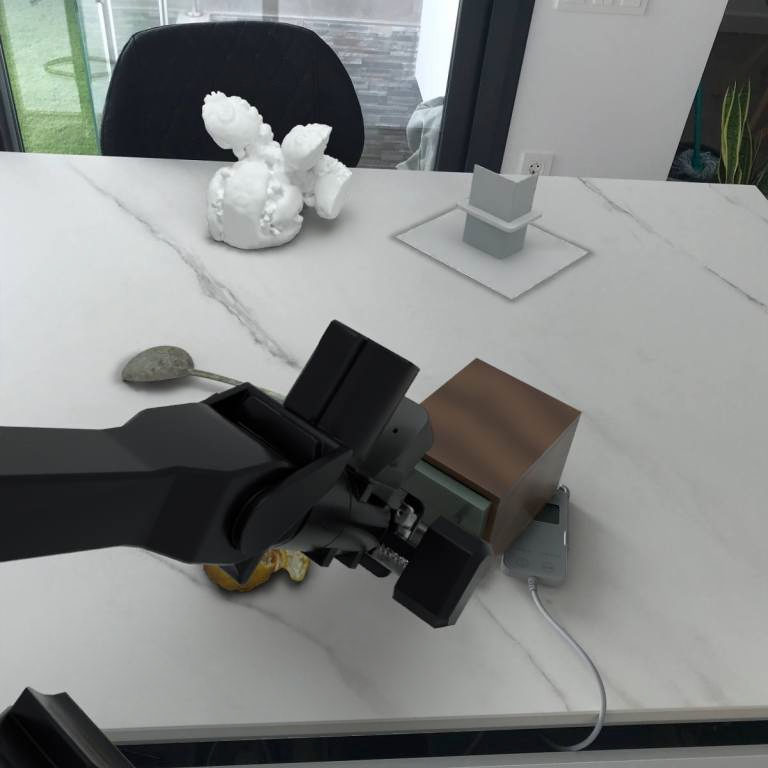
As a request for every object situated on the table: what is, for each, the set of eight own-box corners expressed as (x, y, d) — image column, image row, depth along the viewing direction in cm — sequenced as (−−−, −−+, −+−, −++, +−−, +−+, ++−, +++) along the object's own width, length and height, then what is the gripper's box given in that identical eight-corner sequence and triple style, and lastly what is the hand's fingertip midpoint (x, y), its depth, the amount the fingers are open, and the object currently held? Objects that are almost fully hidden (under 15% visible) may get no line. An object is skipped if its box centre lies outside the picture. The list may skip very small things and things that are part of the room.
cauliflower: (156, 189, 97) (219, 65, 102) (201, 264, 115) (252, 156, 121) (295, 229, 94) (352, 99, 99) (318, 300, 112) (365, 187, 118)
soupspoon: (146, 352, 87) (112, 388, 83) (140, 328, 85) (105, 364, 80) (327, 398, 82) (302, 440, 78) (326, 374, 80) (300, 416, 75)
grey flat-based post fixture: (476, 199, 122) (488, 127, 114) (588, 252, 112) (610, 177, 104) (395, 237, 111) (402, 160, 103) (511, 299, 100) (529, 219, 93)
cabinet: (479, 582, 66) (500, 498, 59) (377, 514, 71) (387, 429, 64) (555, 493, 75) (582, 411, 68) (460, 438, 79) (476, 357, 73)
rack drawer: (439, 611, 62) (454, 541, 57) (346, 545, 67) (351, 474, 61) (540, 497, 73) (561, 429, 67) (453, 446, 77) (466, 378, 71)
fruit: (320, 574, 65) (321, 546, 63) (230, 619, 61) (227, 592, 59) (273, 509, 70) (272, 482, 68) (186, 547, 66) (183, 519, 64)
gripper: (508, 462, 42) (556, 494, 56) (264, 322, 50) (359, 380, 64) (405, 640, 42) (480, 627, 56) (177, 470, 50) (292, 496, 64)
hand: (399, 523), depth 60 cm, fingers closed, pressing on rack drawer
